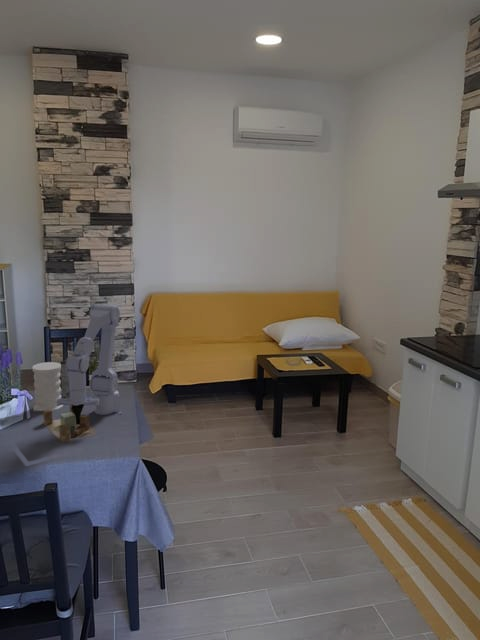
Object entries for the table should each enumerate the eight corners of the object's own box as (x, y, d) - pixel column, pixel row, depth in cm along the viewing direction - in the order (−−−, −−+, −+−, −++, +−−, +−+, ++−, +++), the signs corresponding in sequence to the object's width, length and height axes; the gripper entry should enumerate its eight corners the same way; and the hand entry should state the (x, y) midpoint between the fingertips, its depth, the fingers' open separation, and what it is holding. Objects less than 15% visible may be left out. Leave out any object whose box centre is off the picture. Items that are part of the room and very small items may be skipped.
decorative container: (35, 404, 206) (32, 362, 203) (64, 402, 209) (62, 361, 206) (31, 414, 195) (29, 371, 192) (62, 412, 198) (61, 369, 195)
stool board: (76, 418, 194) (76, 403, 192) (98, 436, 179) (97, 420, 177) (42, 425, 186) (42, 410, 184) (62, 445, 170) (61, 428, 169)
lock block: (71, 421, 187) (71, 411, 186) (75, 425, 184) (75, 415, 183) (60, 424, 185) (60, 414, 184) (64, 427, 182) (64, 417, 181)
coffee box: (71, 390, 223) (69, 356, 220) (84, 391, 223) (83, 357, 219) (61, 397, 215) (59, 361, 211) (75, 398, 214) (74, 362, 210)
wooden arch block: (77, 435, 175) (77, 422, 174) (71, 434, 175) (71, 421, 174) (89, 427, 181) (89, 415, 180) (83, 426, 182) (83, 414, 181)
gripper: (54, 392, 173) (55, 428, 176) (96, 391, 175) (97, 427, 177) (58, 385, 180) (60, 420, 183) (99, 385, 182) (100, 419, 184)
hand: (78, 423), depth 180 cm, fingers closed, pressing on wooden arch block
